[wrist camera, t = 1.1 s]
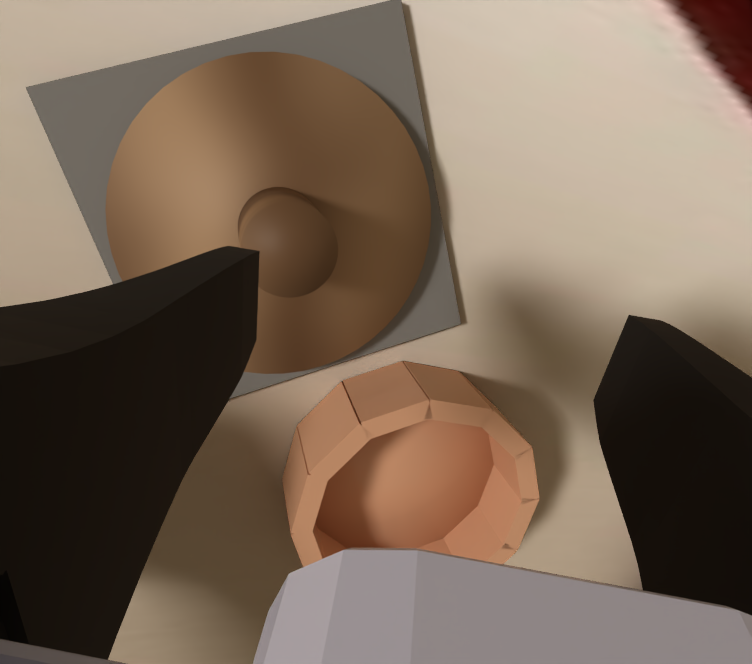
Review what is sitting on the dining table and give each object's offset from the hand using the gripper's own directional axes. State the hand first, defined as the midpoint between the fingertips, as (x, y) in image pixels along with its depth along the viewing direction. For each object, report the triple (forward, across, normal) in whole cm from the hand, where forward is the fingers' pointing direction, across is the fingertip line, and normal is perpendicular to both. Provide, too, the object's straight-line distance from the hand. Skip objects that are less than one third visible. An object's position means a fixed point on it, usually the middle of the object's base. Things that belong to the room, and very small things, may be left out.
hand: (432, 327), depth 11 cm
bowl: (+10, 0, +13) cm, 16 cm away
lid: (+9, +6, +2) cm, 11 cm away
